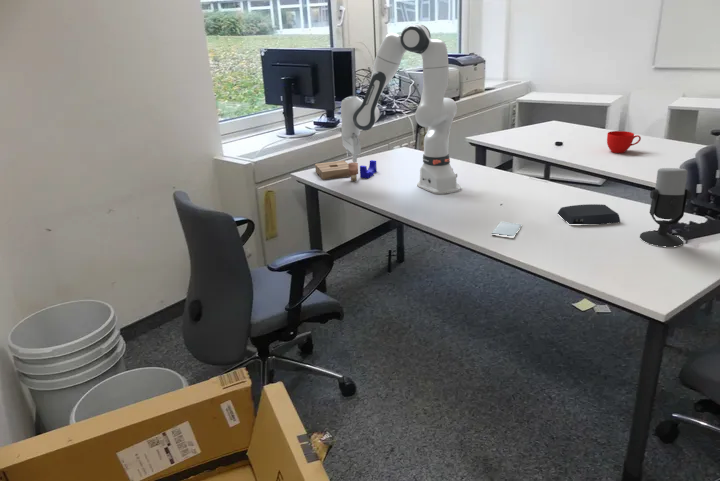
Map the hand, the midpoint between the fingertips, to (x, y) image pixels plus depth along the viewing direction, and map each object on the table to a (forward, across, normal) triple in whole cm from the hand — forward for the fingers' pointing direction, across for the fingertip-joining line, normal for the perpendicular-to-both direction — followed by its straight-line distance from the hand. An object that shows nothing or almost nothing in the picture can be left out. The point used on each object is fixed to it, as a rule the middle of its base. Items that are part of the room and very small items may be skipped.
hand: (351, 159), depth 248 cm
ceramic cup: (+8, -14, -150) cm, 150 cm away
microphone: (+8, -111, -78) cm, 136 cm away
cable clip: (+11, +5, -11) cm, 16 cm away
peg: (+11, -1, 0) cm, 11 cm away
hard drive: (+9, -84, -35) cm, 92 cm away
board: (+11, +15, +6) cm, 20 cm away
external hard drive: (+9, -86, -69) cm, 110 cm away
